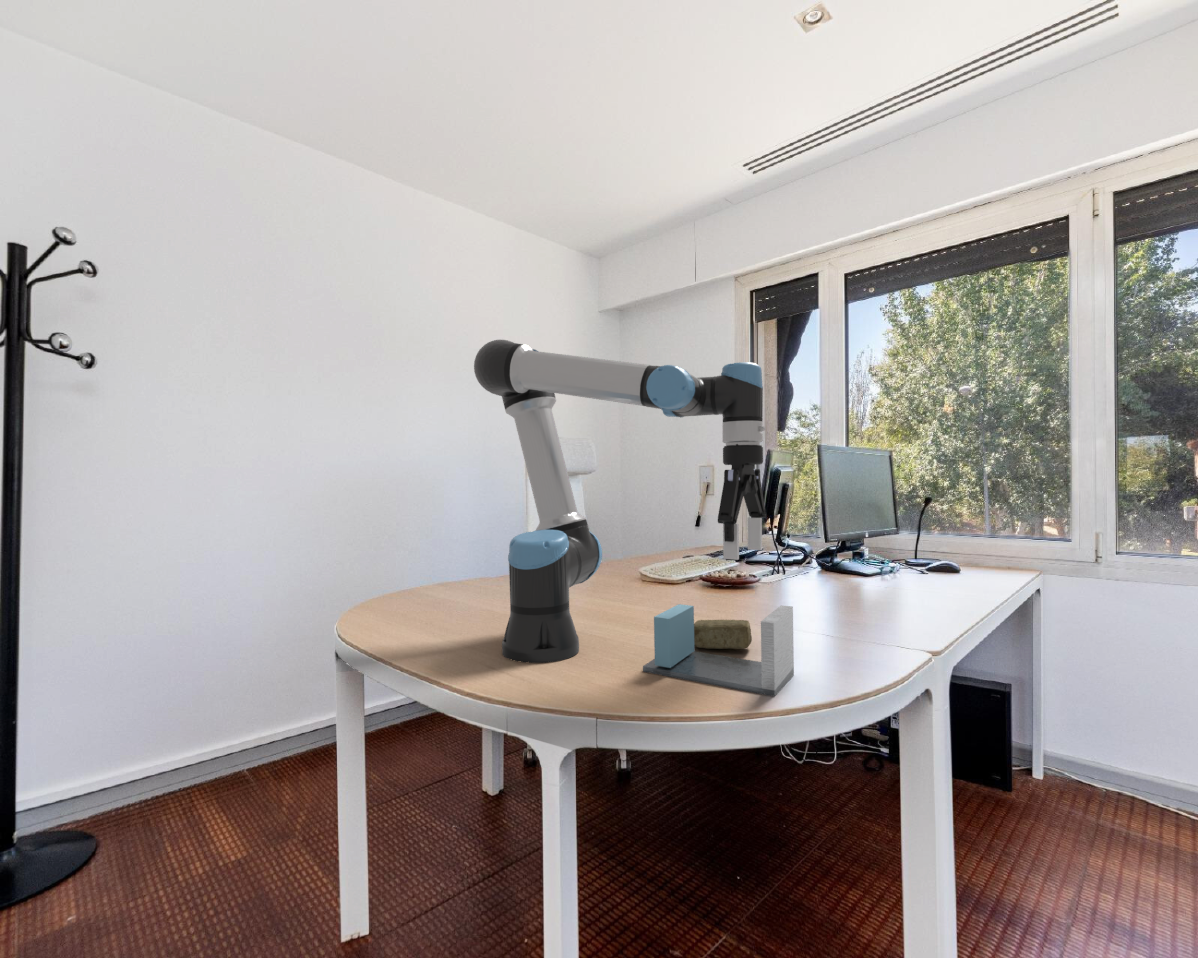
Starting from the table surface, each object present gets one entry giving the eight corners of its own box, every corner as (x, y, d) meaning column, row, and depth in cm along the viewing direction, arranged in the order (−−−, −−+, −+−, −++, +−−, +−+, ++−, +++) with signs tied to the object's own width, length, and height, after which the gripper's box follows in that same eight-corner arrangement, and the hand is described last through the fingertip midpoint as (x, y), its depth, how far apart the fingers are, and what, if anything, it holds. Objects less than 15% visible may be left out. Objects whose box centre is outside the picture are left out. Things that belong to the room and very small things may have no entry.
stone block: (750, 651, 110) (748, 625, 110) (691, 650, 114) (688, 625, 114) (753, 642, 116) (750, 617, 116) (696, 642, 120) (693, 618, 120)
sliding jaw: (654, 665, 101) (653, 616, 101) (679, 648, 110) (678, 604, 110) (670, 667, 100) (669, 618, 99) (694, 650, 109) (693, 605, 108)
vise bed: (642, 674, 102) (641, 606, 101) (671, 655, 112) (670, 593, 112) (774, 700, 89) (773, 623, 89) (793, 675, 100) (792, 606, 99)
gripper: (739, 441, 99) (740, 565, 99) (780, 445, 120) (781, 547, 120) (698, 443, 103) (699, 561, 104) (745, 446, 124) (746, 545, 124)
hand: (743, 554), depth 112 cm, fingers open, 13 cm apart
